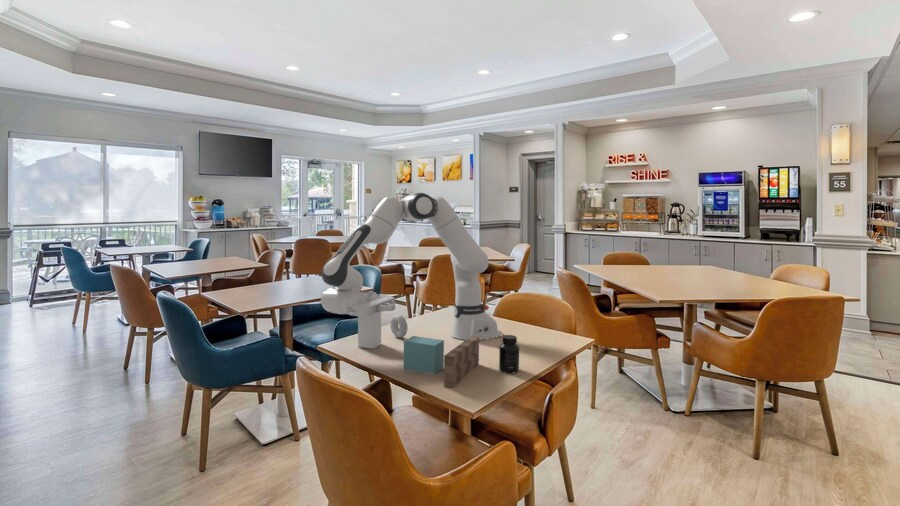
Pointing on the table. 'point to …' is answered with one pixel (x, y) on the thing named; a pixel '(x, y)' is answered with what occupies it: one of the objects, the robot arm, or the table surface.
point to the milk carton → (369, 331)
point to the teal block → (424, 354)
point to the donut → (402, 324)
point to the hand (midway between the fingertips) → (393, 308)
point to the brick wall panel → (461, 361)
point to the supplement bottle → (509, 354)
